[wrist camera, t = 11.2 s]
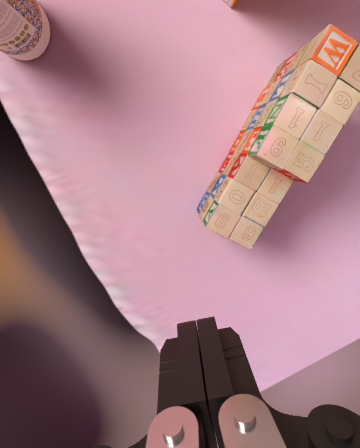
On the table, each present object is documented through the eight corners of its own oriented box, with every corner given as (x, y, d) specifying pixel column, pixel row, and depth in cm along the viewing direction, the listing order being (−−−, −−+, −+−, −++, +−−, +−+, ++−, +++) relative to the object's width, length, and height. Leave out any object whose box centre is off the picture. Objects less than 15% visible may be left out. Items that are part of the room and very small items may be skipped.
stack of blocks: (231, 228, 40) (258, 261, 28) (195, 209, 39) (207, 235, 27) (315, 90, 35) (389, 60, 24) (276, 65, 34) (333, 20, 22)
